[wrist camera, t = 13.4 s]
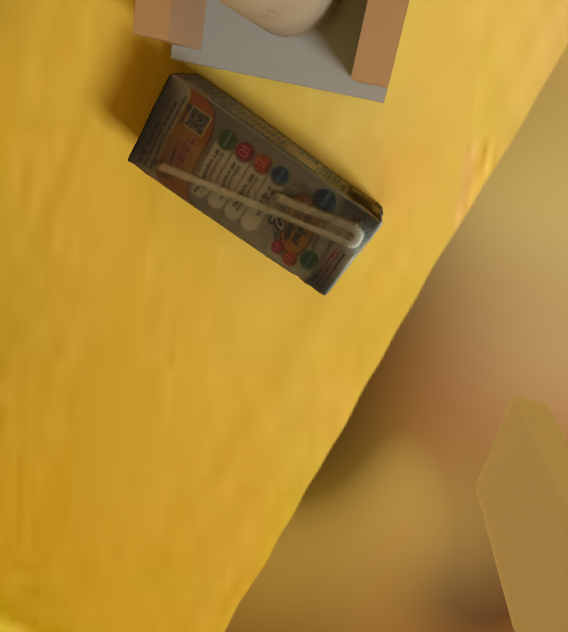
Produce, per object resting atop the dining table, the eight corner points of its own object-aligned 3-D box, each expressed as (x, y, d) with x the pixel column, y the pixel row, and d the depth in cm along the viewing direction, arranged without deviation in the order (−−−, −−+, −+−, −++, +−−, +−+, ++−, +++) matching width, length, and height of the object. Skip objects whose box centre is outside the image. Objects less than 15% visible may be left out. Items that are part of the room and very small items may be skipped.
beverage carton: (331, 279, 48) (323, 305, 42) (151, 153, 46) (116, 161, 40) (386, 206, 44) (386, 222, 38) (195, 69, 43) (164, 63, 37)
